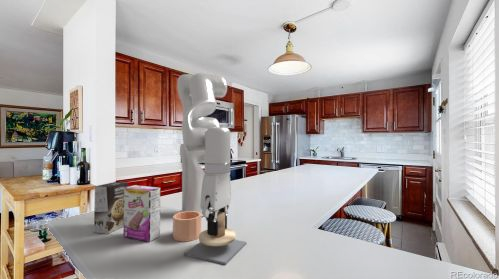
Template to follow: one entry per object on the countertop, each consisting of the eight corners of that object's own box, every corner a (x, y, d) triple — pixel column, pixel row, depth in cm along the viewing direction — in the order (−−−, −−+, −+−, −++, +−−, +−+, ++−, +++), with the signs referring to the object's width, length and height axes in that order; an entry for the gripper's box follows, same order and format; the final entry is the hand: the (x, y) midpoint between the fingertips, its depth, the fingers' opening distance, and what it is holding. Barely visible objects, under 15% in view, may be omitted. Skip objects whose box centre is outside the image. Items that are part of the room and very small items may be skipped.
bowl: (185, 228, 81) (185, 209, 81) (206, 232, 78) (206, 213, 78) (167, 238, 73) (167, 217, 73) (189, 243, 70) (189, 221, 70)
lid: (211, 229, 73) (212, 207, 73) (241, 234, 69) (241, 211, 69) (191, 242, 63) (191, 217, 63) (224, 249, 59) (224, 222, 59)
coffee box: (109, 234, 76) (109, 186, 77) (93, 232, 78) (93, 185, 78) (128, 224, 85) (129, 181, 85) (114, 223, 87) (114, 181, 87)
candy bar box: (122, 237, 74) (122, 187, 74) (134, 232, 78) (135, 184, 79) (149, 243, 70) (150, 190, 70) (160, 236, 75) (161, 187, 75)
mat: (210, 236, 75) (210, 234, 75) (246, 243, 70) (246, 241, 70) (184, 254, 63) (184, 252, 63) (225, 264, 58) (225, 262, 58)
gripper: (221, 166, 76) (221, 220, 75) (188, 171, 60) (188, 240, 60) (241, 167, 73) (241, 224, 72) (212, 173, 57) (212, 246, 57)
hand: (217, 231), depth 66 cm, fingers closed on lid, 4 cm apart
